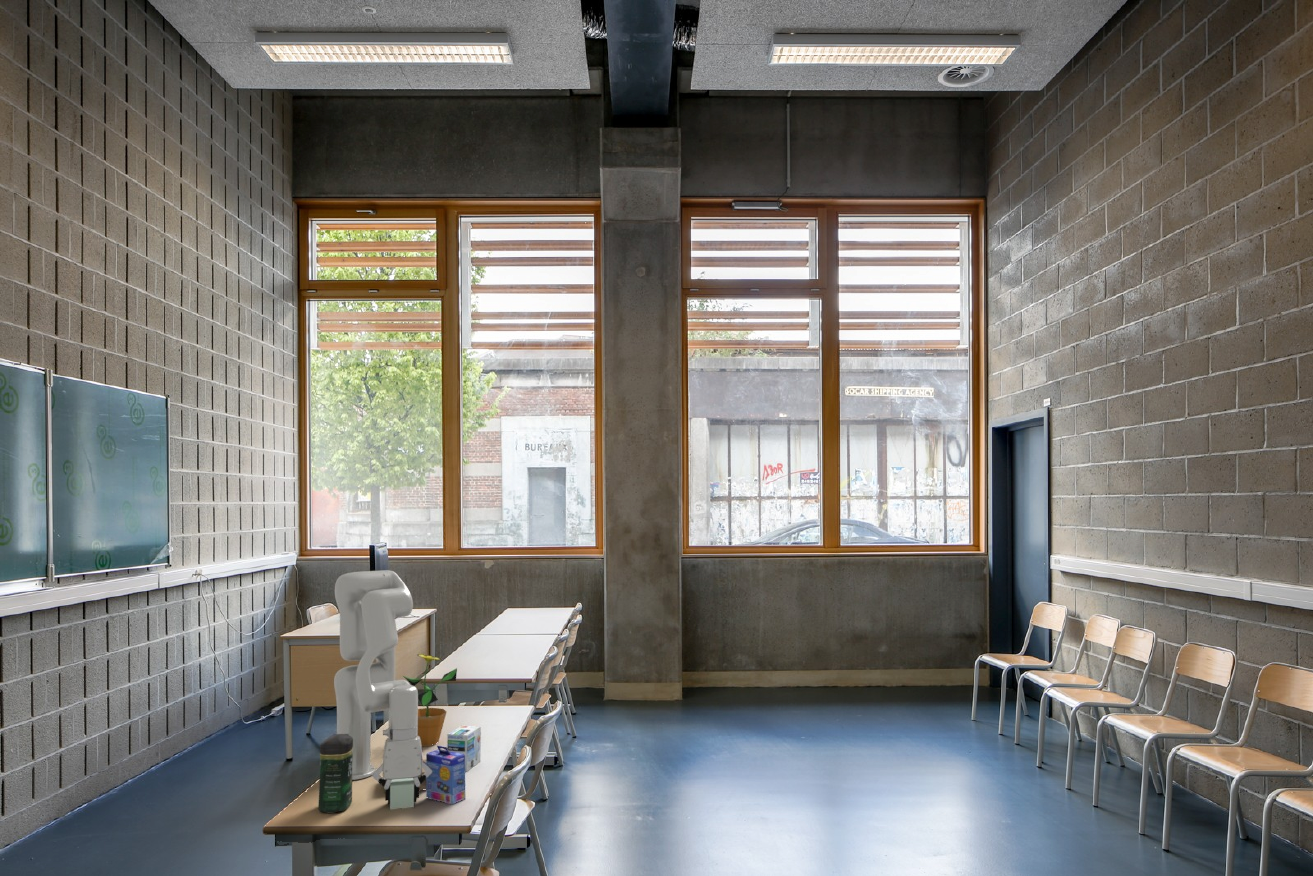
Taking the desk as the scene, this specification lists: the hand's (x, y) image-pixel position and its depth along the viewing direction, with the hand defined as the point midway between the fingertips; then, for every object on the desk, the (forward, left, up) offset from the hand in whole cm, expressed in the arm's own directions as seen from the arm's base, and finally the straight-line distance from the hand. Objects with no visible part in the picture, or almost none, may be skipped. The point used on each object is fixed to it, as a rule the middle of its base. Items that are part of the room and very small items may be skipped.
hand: (402, 801), depth 241 cm
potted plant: (+6, +58, -1) cm, 58 cm away
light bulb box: (+17, +30, -1) cm, 35 cm away
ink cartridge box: (+11, +2, -1) cm, 11 cm away
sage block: (0, 0, -1) cm, 1 cm away
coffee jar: (-17, +2, -1) cm, 17 cm away
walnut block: (+1, +16, -1) cm, 16 cm away
